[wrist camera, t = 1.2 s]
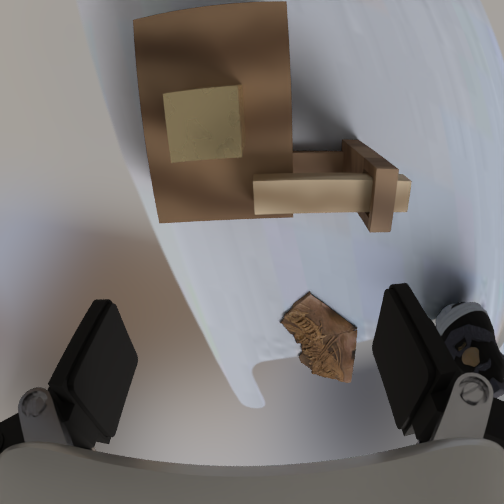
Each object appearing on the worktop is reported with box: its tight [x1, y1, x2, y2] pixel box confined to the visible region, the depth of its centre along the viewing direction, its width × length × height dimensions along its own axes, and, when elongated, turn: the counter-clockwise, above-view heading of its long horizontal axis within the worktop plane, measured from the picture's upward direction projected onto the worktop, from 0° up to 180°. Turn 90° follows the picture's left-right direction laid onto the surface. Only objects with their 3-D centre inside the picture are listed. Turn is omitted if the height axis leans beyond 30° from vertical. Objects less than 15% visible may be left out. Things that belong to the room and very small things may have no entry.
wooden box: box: [293, 139, 399, 232], centre depth 27 cm, size 20×22×12 cm
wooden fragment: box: [280, 292, 357, 383], centre depth 51 cm, size 26×11×1 cm, turn 23°
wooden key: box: [253, 173, 412, 215], centre depth 27 cm, size 3×14×2 cm, turn 93°
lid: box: [133, 1, 293, 223], centre depth 23 cm, size 20×13×8 cm, turn 3°
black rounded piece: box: [436, 302, 504, 398], centre depth 38 cm, size 11×11×20 cm
